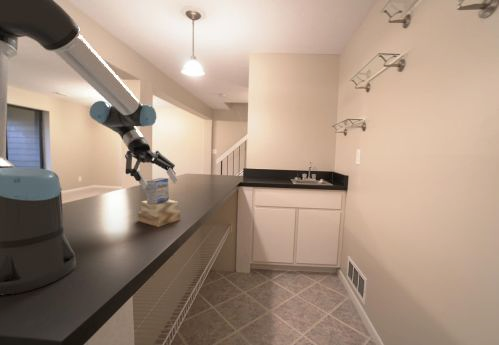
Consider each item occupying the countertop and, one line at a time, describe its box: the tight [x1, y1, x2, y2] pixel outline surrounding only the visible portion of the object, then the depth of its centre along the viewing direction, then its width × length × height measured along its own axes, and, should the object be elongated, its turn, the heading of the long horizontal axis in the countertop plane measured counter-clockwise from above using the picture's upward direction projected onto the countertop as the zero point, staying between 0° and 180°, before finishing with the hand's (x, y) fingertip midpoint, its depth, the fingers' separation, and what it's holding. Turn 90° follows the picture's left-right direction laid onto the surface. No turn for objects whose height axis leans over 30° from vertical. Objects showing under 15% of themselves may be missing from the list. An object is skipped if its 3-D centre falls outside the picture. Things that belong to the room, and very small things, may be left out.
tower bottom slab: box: [137, 210, 181, 228], centre depth 90 cm, size 10×12×4 cm
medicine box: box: [145, 177, 170, 204], centre depth 89 cm, size 8×4×9 cm, turn 167°
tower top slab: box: [140, 199, 179, 217], centre depth 89 cm, size 9×11×4 cm
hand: (162, 184), depth 88 cm, fingers open, 13 cm apart
